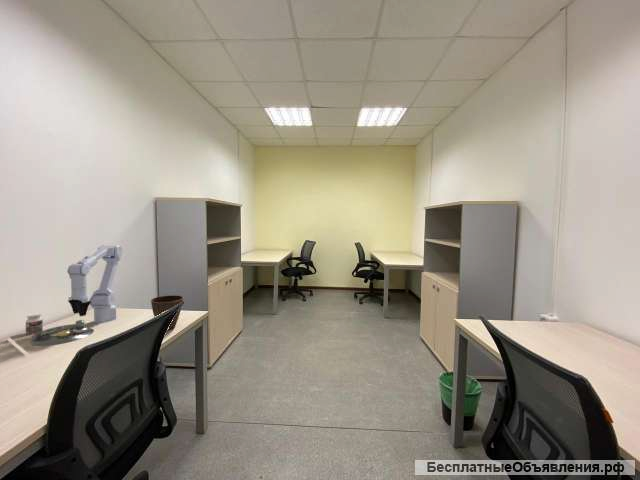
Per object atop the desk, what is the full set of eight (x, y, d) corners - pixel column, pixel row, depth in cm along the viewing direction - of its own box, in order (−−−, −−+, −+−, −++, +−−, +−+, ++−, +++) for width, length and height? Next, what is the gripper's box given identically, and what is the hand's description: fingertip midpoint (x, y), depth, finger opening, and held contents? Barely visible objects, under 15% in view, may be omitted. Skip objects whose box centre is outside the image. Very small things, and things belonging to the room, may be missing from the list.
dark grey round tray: (83, 326, 144) (83, 320, 144) (101, 335, 133) (101, 329, 133) (24, 340, 125) (23, 334, 125) (39, 352, 114) (39, 345, 114)
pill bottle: (31, 337, 129) (31, 316, 129) (22, 335, 131) (22, 315, 130) (45, 332, 135) (45, 313, 135) (37, 331, 136) (36, 312, 136)
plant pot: (178, 321, 154) (178, 293, 154) (187, 328, 144) (186, 298, 143) (148, 327, 144) (147, 298, 143) (155, 335, 133) (155, 304, 133)
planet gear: (85, 329, 138) (84, 318, 138) (89, 331, 135) (89, 320, 135) (70, 332, 133) (70, 321, 133) (75, 335, 130) (74, 323, 130)
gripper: (63, 287, 133) (63, 313, 134) (74, 291, 126) (74, 319, 127) (81, 284, 139) (81, 310, 140) (92, 288, 132) (93, 315, 133)
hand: (79, 314), depth 134 cm, fingers open, 7 cm apart
